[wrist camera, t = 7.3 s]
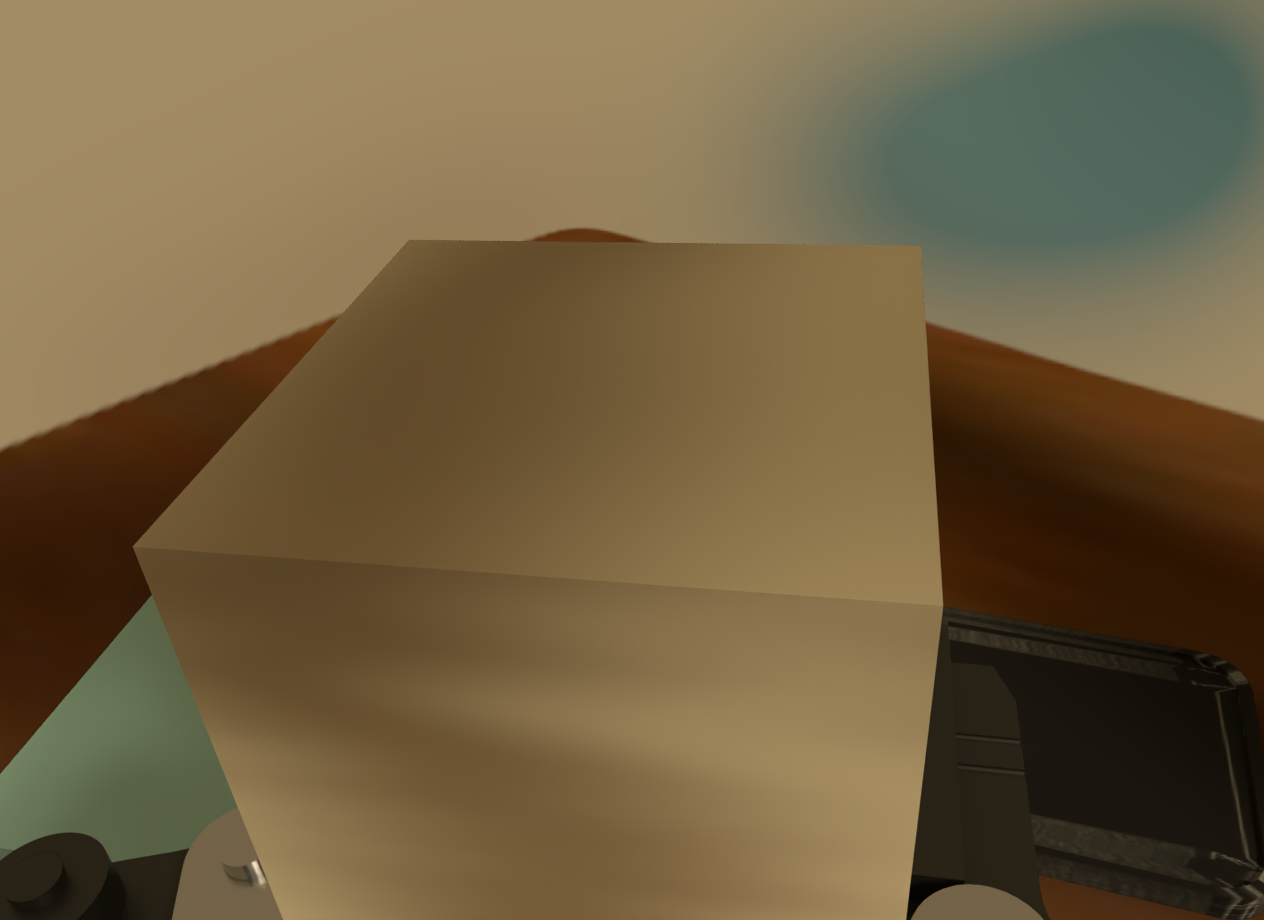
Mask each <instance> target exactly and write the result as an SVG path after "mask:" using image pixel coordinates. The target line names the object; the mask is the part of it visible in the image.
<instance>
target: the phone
mask: <svg viewBox="0 0 1264 920" xmlns="http://www.w3.org/2000/svg"><path fill="white" fill-rule="evenodd" d="M942 617H946V618H947V620H948V627H949V641H950V656H951V663H963V664H976V665H988V666H993V667H994V669H995V670H996V672H997V673H998V675H999V676H1000V678H1001V679H1002V681H1003V682H1004V684H1005V685H1006V687H1007V688H1008V690H1009V691H1010V693H1011V694H1012V696H1013V697H1014V699H1015V700H1016V706H1017V714H1018V721H1019V729H1020V737H1021V741H1020V745H1021V746H1022V752H1023V760H1024V768H1025V772H1024V776H1025V778H1026V783H1027V791H1028V799H1029V807H1030V814H1031V822H1032V830H1033V838H1034V846H1035V853H1036V861H1037V869H1038V875H1041V876H1046V877H1050V878H1054V879H1058V880H1062V881H1066V882H1071V883H1075V884H1079V885H1083V886H1087V887H1092V888H1096V889H1100V890H1104V891H1108V892H1113V893H1117V894H1121V895H1125V896H1129V897H1133V898H1138V899H1142V900H1146V901H1150V902H1154V903H1159V904H1163V905H1167V906H1171V907H1175V908H1180V909H1184V910H1188V911H1192V912H1196V913H1200V914H1205V915H1209V916H1213V917H1217V918H1224V919H1233V920H1240V919H1246V918H1252V917H1254V916H1256V915H1258V914H1259V913H1261V912H1263V911H1264V758H1263V752H1262V746H1261V740H1260V734H1259V728H1258V722H1257V716H1256V710H1255V704H1254V698H1253V692H1252V689H1251V686H1250V684H1249V681H1248V680H1247V679H1246V677H1245V676H1244V675H1243V674H1242V673H1241V672H1240V671H1239V670H1238V669H1237V668H1235V667H1234V666H1233V665H1231V664H1230V663H1228V662H1227V661H1224V660H1222V659H1220V658H1218V657H1216V656H1214V655H1210V654H1206V653H1202V652H1199V651H1193V650H1187V649H1182V648H1176V647H1170V646H1164V645H1159V644H1153V643H1147V642H1141V641H1136V640H1130V639H1124V638H1119V637H1113V636H1107V635H1101V634H1096V633H1090V632H1084V631H1079V630H1073V629H1067V628H1061V627H1056V626H1050V625H1044V624H1039V623H1033V622H1027V621H1022V620H1016V619H1010V618H1004V617H999V616H993V615H987V614H982V613H976V612H970V611H965V610H959V609H953V608H948V607H943V612H942Z"/></svg>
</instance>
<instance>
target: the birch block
mask: <svg viewBox="0 0 1264 920" xmlns="http://www.w3.org/2000/svg"><path fill="white" fill-rule="evenodd" d="M133 549H134V551H135V554H136V556H137V559H138V561H139V564H140V566H141V569H142V571H143V574H144V576H145V579H146V581H147V584H148V586H149V588H150V591H151V593H152V596H153V598H154V601H155V603H156V606H157V608H158V611H159V613H160V616H161V618H162V621H163V623H164V626H165V628H166V631H167V633H168V636H169V638H170V641H171V643H172V645H173V648H174V650H175V653H176V655H177V658H178V660H179V663H180V665H181V668H182V670H183V673H184V675H185V678H186V680H187V683H188V685H189V688H190V690H191V693H192V695H193V697H194V700H195V702H196V705H197V707H198V710H199V712H200V715H201V717H202V720H203V722H204V725H205V727H206V730H207V732H208V735H209V737H210V740H211V742H212V745H213V747H214V749H215V752H216V754H217V757H218V759H219V762H220V764H221V767H222V769H223V772H224V774H225V777H226V779H227V782H228V784H229V787H230V789H231V792H232V794H233V797H234V799H235V802H236V804H237V806H238V809H239V811H240V814H241V816H242V819H243V821H244V824H245V826H246V829H247V831H248V834H249V836H250V839H251V841H252V844H253V846H254V849H255V851H256V854H257V856H258V858H259V861H260V863H261V866H262V868H263V871H264V873H265V876H266V878H267V881H268V883H269V886H270V888H271V891H272V893H273V896H274V898H275V901H276V903H277V906H278V908H279V910H280V913H281V915H282V918H283V920H906V916H907V907H908V899H909V890H910V882H911V874H912V865H913V857H914V848H915V840H916V831H917V823H918V814H919V806H920V798H921V789H922V781H923V772H924V764H925V755H926V747H927V739H928V730H929V722H930V713H931V705H932V696H933V688H934V679H935V671H936V663H937V654H938V646H939V637H940V629H941V620H942V612H943V595H942V579H941V563H940V547H939V531H938V515H937V499H936V483H935V467H934V451H933V435H932V419H931V403H930V387H929V371H928V355H927V339H926V323H925V308H924V292H923V276H922V260H921V246H877V245H876V246H875V245H791V244H789V245H787V244H708V243H706V244H705V243H704V244H703V243H623V242H539V241H453V240H452V241H451V240H448V241H447V240H409V241H408V242H407V243H406V244H405V245H404V246H403V247H402V248H401V250H400V251H399V252H398V253H397V254H396V255H395V256H394V257H393V258H392V260H391V261H390V262H389V263H388V264H387V265H386V266H385V267H384V268H383V270H382V271H381V272H380V273H379V274H378V275H377V276H376V277H375V279H374V280H373V281H372V282H371V283H370V284H369V285H368V286H367V287H366V289H364V291H363V292H362V293H361V294H360V295H359V296H358V297H357V298H356V299H355V301H354V302H353V303H352V304H351V305H350V306H349V307H348V308H347V309H346V311H345V312H344V313H343V314H342V315H341V316H340V317H339V318H338V319H337V321H336V322H335V323H334V324H333V325H332V326H331V327H330V328H329V329H328V331H327V332H326V333H325V334H324V335H323V336H322V337H321V338H320V339H319V341H318V342H317V343H316V344H315V345H314V346H313V347H312V348H311V349H310V350H309V352H308V353H307V354H306V355H305V356H304V357H303V358H302V359H301V360H300V362H299V363H298V364H297V365H296V366H295V367H294V368H293V369H292V370H291V372H290V373H289V374H288V375H287V376H286V377H285V378H284V379H283V380H282V382H281V383H280V384H279V385H278V386H277V387H276V388H275V389H274V390H273V392H272V393H271V394H270V395H269V396H268V397H267V398H266V399H265V400H264V402H263V403H262V404H261V405H260V406H259V407H258V408H257V409H256V410H255V411H254V413H253V414H252V415H251V416H250V417H249V418H248V419H247V420H246V421H245V423H244V424H243V425H242V426H241V427H240V428H239V429H238V430H237V431H236V433H235V434H234V435H233V436H232V437H231V438H230V439H229V440H228V441H227V443H226V444H225V445H224V446H223V447H222V448H221V449H220V450H219V451H218V453H217V454H216V455H215V456H214V457H213V458H212V459H211V460H210V461H209V463H208V464H207V465H206V466H205V467H204V468H203V469H202V470H201V471H200V472H199V474H198V475H197V476H196V477H195V478H194V479H193V480H192V481H191V482H190V484H189V485H188V486H187V487H186V488H185V489H184V490H183V491H182V492H181V494H180V495H179V496H178V497H177V498H176V499H175V500H174V501H173V502H172V504H171V505H170V506H169V507H168V508H167V509H166V510H165V511H164V512H163V514H162V515H161V516H160V517H159V518H158V519H157V520H156V521H155V522H154V524H153V525H152V526H151V527H150V528H149V529H148V530H147V531H146V532H145V533H144V535H143V536H142V537H141V538H140V539H139V540H138V541H137V542H136V543H135V545H134V546H133Z"/></svg>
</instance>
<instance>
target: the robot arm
mask: <svg viewBox="0 0 1264 920" xmlns="http://www.w3.org/2000/svg"><path fill="white" fill-rule="evenodd" d="M1020 741H1021V737H1020V729H1019V721H1018V714H1017V706H1016V700H1015V699H1014V697H1013V696H1012V694H1011V693H1010V691H1009V690H1008V688H1007V687H1006V685H1005V684H1004V682H1003V681H1002V679H1001V678H1000V676H999V675H998V673H997V672H996V670H995V669H994V667H993V666H988V665H976V664H963V663H951V656H950V641H949V627H948V620H947V618H946V617H942V620H941V629H940V637H939V646H938V654H937V663H936V671H935V679H934V688H933V696H932V705H931V713H930V722H929V730H928V739H927V747H926V755H925V764H924V772H923V781H922V789H921V798H920V806H919V814H918V823H917V831H916V840H915V848H914V857H913V865H912V874H911V882H910V890H909V899H908V907H907V916H906V920H1050V918H1049V916H1048V914H1047V912H1046V909H1045V907H1044V904H1043V901H1042V896H1041V892H1040V884H1039V877H1038V869H1037V861H1036V853H1035V846H1034V838H1033V830H1032V822H1031V814H1030V807H1029V799H1028V791H1027V783H1026V778H1025V776H1024V772H1025V768H1024V760H1023V752H1022V746H1021V745H1020ZM0 920H283V918H282V915H281V913H280V910H279V908H278V906H277V903H276V901H275V898H274V896H273V893H272V891H271V888H270V886H269V883H268V881H267V878H266V876H265V873H264V871H263V868H262V866H261V863H260V861H259V858H258V856H257V854H256V851H255V849H254V846H253V844H252V841H251V839H250V836H249V834H248V831H247V829H246V826H245V824H244V821H243V819H242V816H241V814H240V811H239V809H238V808H235V809H233V810H231V811H229V812H227V813H225V814H224V815H222V816H221V817H219V818H218V819H216V820H215V821H213V822H212V823H211V824H210V825H209V826H207V827H206V828H205V829H204V830H203V831H202V832H201V834H200V835H199V836H198V837H197V838H196V840H195V841H194V842H193V844H192V845H191V847H190V848H187V849H183V850H179V851H174V852H168V853H162V854H157V855H151V856H145V857H139V858H134V859H128V860H122V861H116V862H111V860H110V858H109V856H108V854H107V852H106V850H105V848H104V846H103V845H102V844H101V843H100V842H99V841H98V840H97V839H95V838H93V837H91V836H89V835H86V834H82V833H74V832H67V833H57V834H52V835H48V836H45V837H41V838H38V839H36V840H33V841H31V842H29V843H27V844H25V845H23V846H21V847H19V848H17V849H16V850H14V851H13V852H11V853H10V854H8V855H7V856H5V857H4V858H3V859H1V860H0Z"/></svg>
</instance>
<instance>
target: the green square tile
mask: <svg viewBox="0 0 1264 920" xmlns="http://www.w3.org/2000/svg"><path fill="white" fill-rule="evenodd" d="M235 808H238V806H237V804H236V802H235V799H234V797H233V794H232V792H231V789H230V787H229V784H228V782H227V779H226V777H225V774H224V772H223V769H222V767H221V764H220V762H219V759H218V757H217V754H216V752H215V749H214V747H213V745H212V742H211V740H210V737H209V735H208V732H207V730H206V727H205V725H204V722H203V720H202V717H201V715H200V712H199V710H198V707H197V705H196V702H195V700H194V697H193V695H192V693H191V690H190V688H189V685H188V683H187V680H186V678H185V675H184V673H183V670H182V668H181V665H180V663H179V660H178V658H177V655H176V653H175V650H174V648H173V645H172V643H171V641H170V638H169V636H168V633H167V631H166V628H165V626H164V623H163V621H162V618H161V616H160V613H159V611H158V608H157V606H156V603H155V601H154V598H153V596H152V595H151V597H150V598H149V599H148V600H147V601H146V602H145V604H144V605H143V606H142V607H141V608H140V610H139V611H138V612H137V613H136V614H135V615H134V617H133V618H132V619H131V620H130V621H129V623H128V624H127V625H126V626H125V627H124V628H123V630H122V631H121V632H120V633H119V634H118V636H117V637H116V638H115V639H114V640H113V641H112V643H111V644H110V645H109V646H108V647H107V649H106V650H105V651H104V652H103V653H102V655H101V656H100V657H99V658H98V659H97V660H96V662H95V663H94V664H93V665H92V666H91V668H90V669H89V670H88V671H87V672H86V673H85V675H84V676H83V677H82V678H81V679H80V681H79V682H78V683H77V684H76V685H75V686H74V688H73V689H72V690H71V691H70V692H69V694H68V695H67V696H66V697H65V698H64V699H63V701H62V702H61V703H60V704H59V705H58V707H57V708H56V709H55V710H54V711H53V713H52V714H51V715H50V716H49V717H48V718H47V720H46V721H45V722H44V723H43V724H42V726H41V727H40V728H39V729H38V730H37V731H36V733H35V734H34V735H33V736H32V737H31V739H30V740H29V741H28V742H27V743H26V744H25V746H24V747H23V748H22V749H21V750H20V752H19V753H18V754H17V755H16V756H15V757H14V759H13V760H12V761H11V762H10V763H9V765H8V766H7V767H6V768H5V769H4V770H3V772H2V773H1V774H0V860H1V859H3V858H4V857H5V856H7V855H8V854H10V853H11V852H13V851H14V850H16V849H17V848H19V847H21V846H23V845H25V844H27V843H29V842H31V841H33V840H36V839H38V838H41V837H45V836H48V835H52V834H57V833H67V832H74V833H82V834H86V835H89V836H91V837H93V838H95V839H97V840H98V841H99V842H100V843H101V844H102V845H103V846H104V848H105V850H106V852H107V854H108V856H109V858H110V860H111V862H116V861H122V860H128V859H134V858H139V857H145V856H151V855H157V854H162V853H168V852H174V851H179V850H183V849H187V848H190V847H191V845H192V844H193V842H194V841H195V840H196V838H197V837H198V836H199V835H200V834H201V832H202V831H203V830H204V829H205V828H206V827H207V826H209V825H210V824H211V823H212V822H213V821H215V820H216V819H218V818H219V817H221V816H222V815H224V814H225V813H227V812H229V811H231V810H233V809H235Z"/></svg>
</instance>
